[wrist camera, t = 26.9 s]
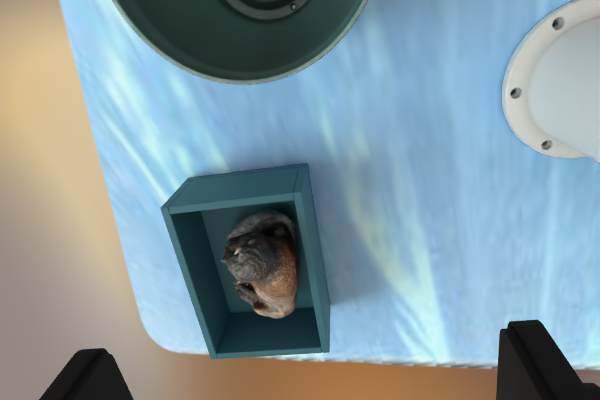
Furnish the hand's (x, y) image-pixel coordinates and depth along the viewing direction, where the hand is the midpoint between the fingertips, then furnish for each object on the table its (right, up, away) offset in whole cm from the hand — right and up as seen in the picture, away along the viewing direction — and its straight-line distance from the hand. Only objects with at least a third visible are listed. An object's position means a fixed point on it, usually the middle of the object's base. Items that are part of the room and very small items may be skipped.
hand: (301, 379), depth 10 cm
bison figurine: (-3, -1, +31) cm, 31 cm away
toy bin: (-4, -1, +32) cm, 32 cm away
